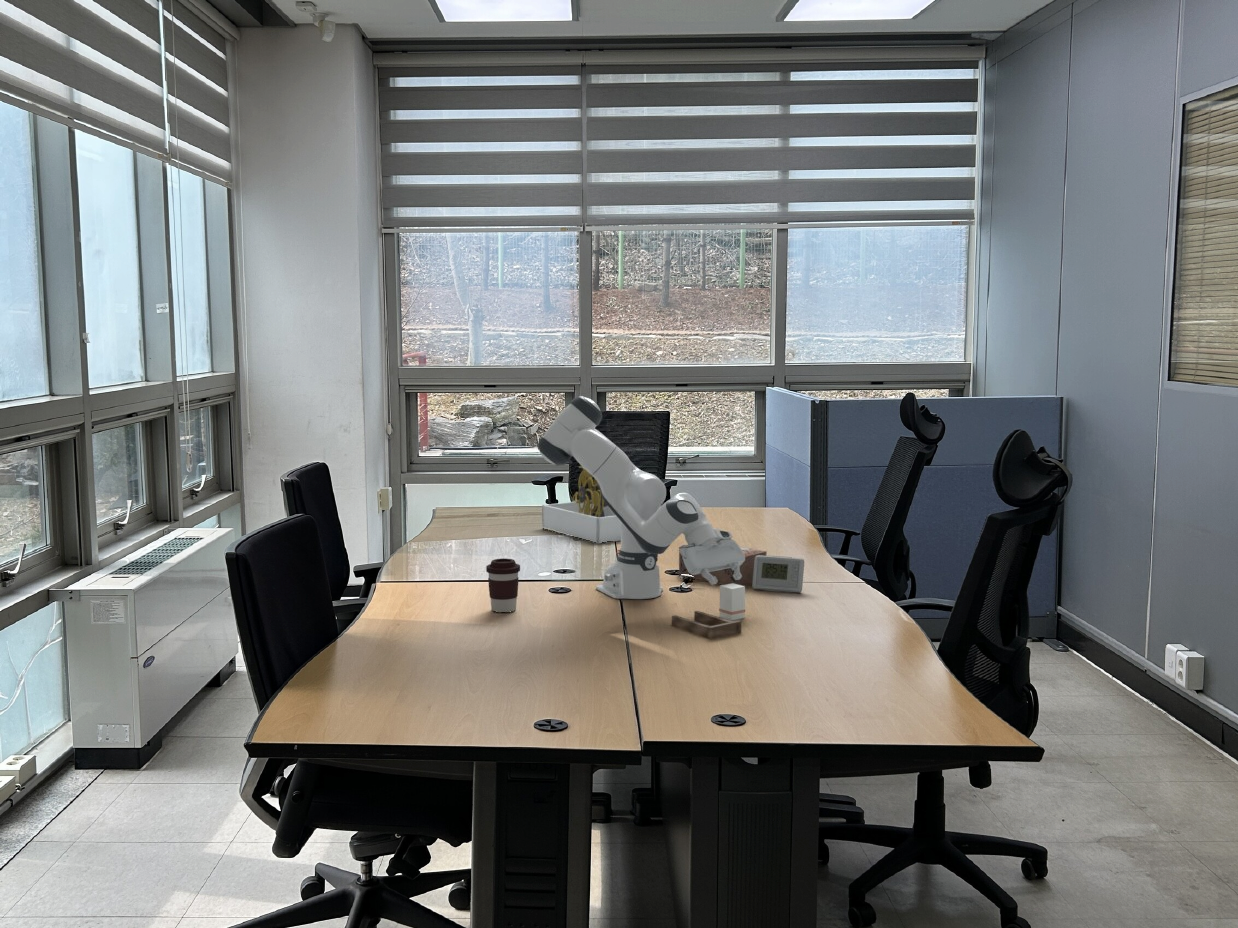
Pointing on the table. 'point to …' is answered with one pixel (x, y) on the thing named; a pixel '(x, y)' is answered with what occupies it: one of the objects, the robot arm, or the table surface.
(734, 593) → the block
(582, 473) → the yellow stringy mass
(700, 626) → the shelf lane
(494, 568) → the coffee cup
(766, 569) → the digital clock
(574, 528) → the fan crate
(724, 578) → the tissue box cover
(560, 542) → the table surface
